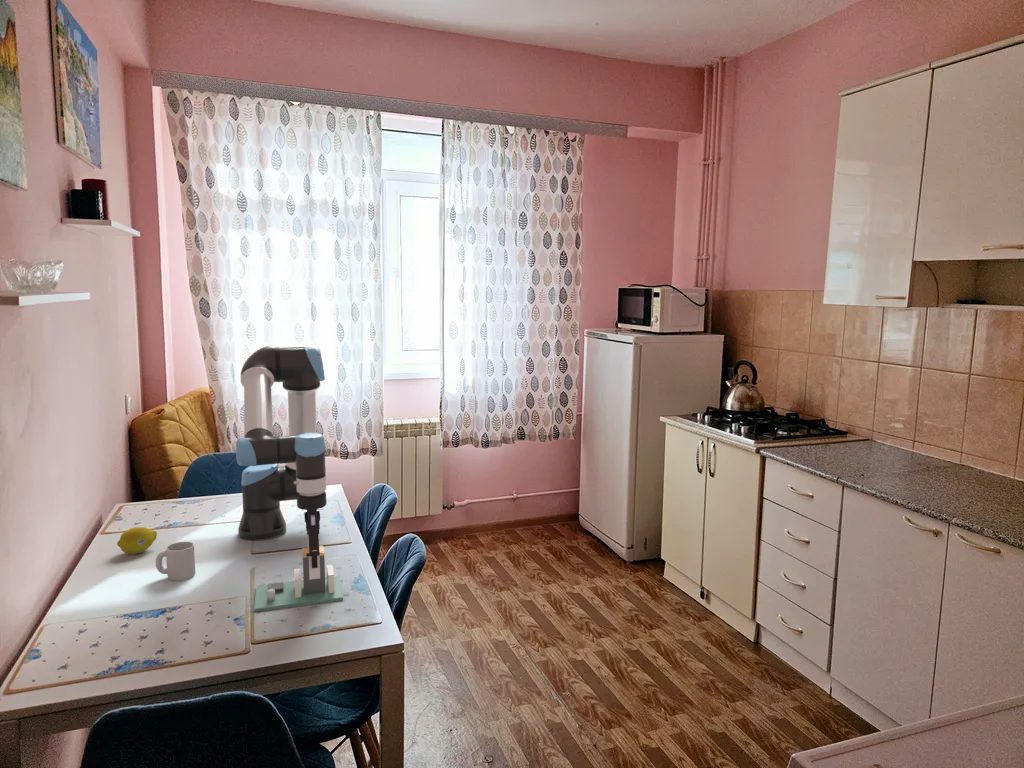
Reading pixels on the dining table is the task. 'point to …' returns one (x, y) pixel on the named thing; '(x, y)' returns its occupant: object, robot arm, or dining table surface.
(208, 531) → the dining table surface
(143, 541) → the lemon
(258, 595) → the board
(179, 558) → the cup
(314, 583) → the plug
